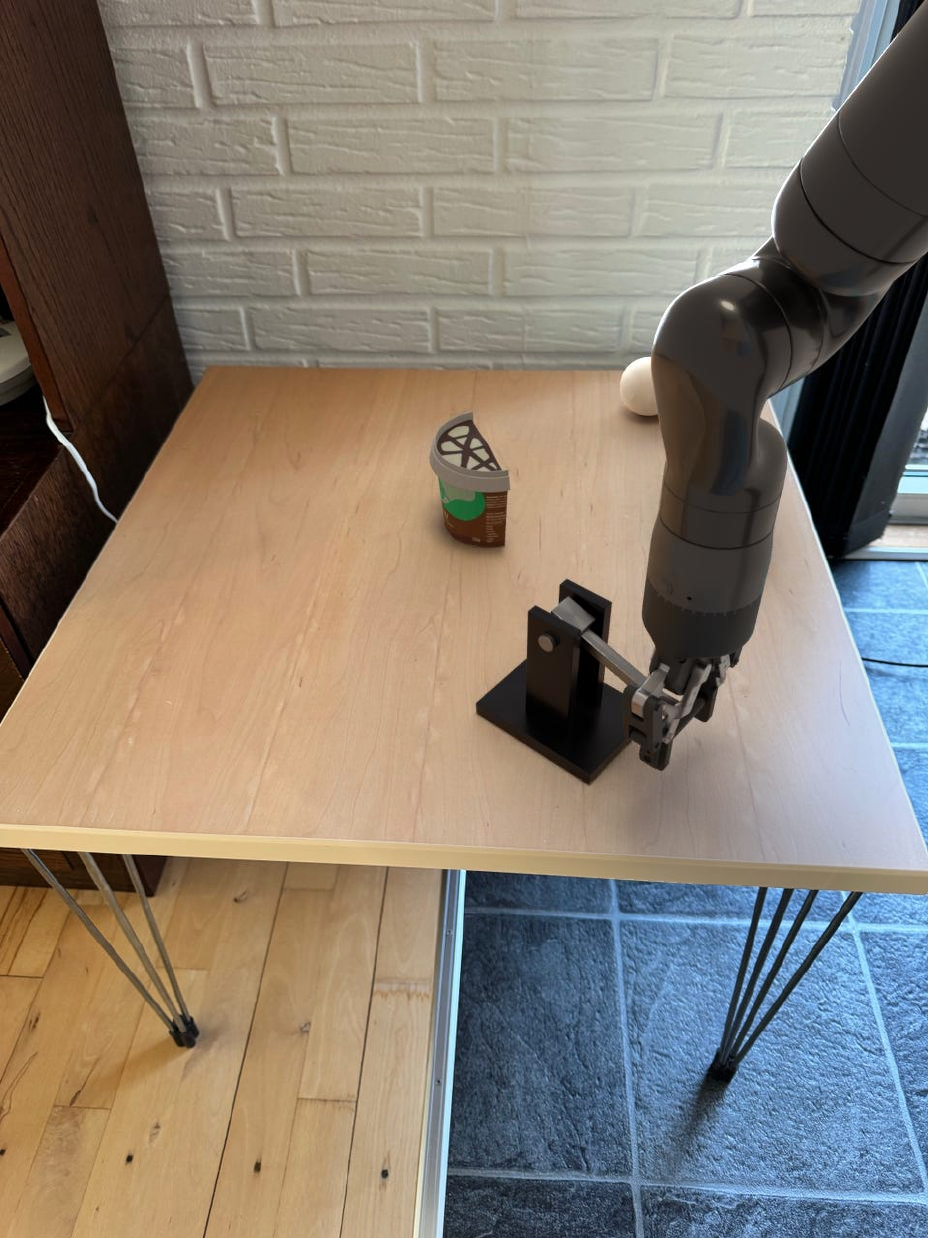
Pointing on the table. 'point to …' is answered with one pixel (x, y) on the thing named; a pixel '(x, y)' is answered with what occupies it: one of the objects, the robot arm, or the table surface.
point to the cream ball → (639, 388)
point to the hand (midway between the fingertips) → (675, 737)
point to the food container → (470, 483)
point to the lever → (614, 655)
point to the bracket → (562, 692)
